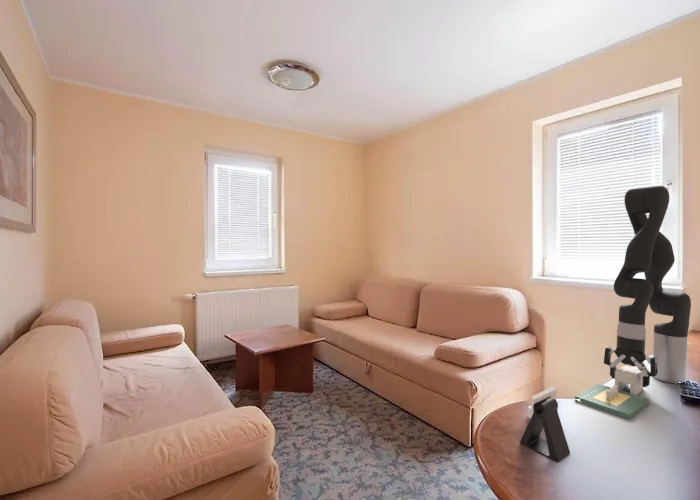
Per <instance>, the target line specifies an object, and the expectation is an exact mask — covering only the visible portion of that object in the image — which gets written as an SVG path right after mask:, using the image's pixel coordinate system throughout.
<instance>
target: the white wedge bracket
mask: <svg viewBox="0 0 700 500" xmlns="http://www.w3.org/2000/svg"><path fill="white" fill-rule="evenodd" d="M547 397H550V398H549V399H547V401H549V400H551V399H553V398H554V399H555V400H556V401H557V388H555V387H554V386H551V387H549V388H546V389H544V390H542V391H541V392H540V391H539V392H538V393H536V394H534V395H532V396H531V399H530V405H528V406H527V418H528V419H529V418H530V419H531V417H532V415H533V405H534V404H535V403H536V402H538V401H540V400H542V399H544V398H547ZM530 419H529V420H530Z"/></svg>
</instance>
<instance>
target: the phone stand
mask: <svg viewBox="0 0 700 500" xmlns="http://www.w3.org/2000/svg"><path fill="white" fill-rule="evenodd" d="M549 398H550V397H547V398H544V399H542V400H540V401H538V402H536V403H535V404H534V405H533V415H532V417H531V419H529V422H528V423H527V426H526V427H525V428H526V429H525V430H524V432H523V434H522V436H521V439H520V441H519V444H520V445H523V446H525V447H526V448H528V449H530V450H532V451H534V452H536V453H538V454H540V455H542V456H544V457H546V458H548V459H550V460H551V461H554V462H555V463H558V462H560V461H561V460H563V459H564V458H566V457H567V456H568V455H570V454H571V451H570V447H569V445H568V441H567V438H566V434H565V432H564V429H563V425H562V422H561V419H560V415H559V412H558V408H559V404H558V403H559V402H558V401H557V399H556V400H555V399H554V398H553V399H551V400H549V401H547V399H549ZM542 430H544V431H543V432H544V436H545V439H542V438H541V435H542Z"/></svg>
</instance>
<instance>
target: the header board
mask: <svg viewBox="0 0 700 500" xmlns="http://www.w3.org/2000/svg"><path fill="white" fill-rule="evenodd" d="M595 390H596V391H595ZM593 391H594V392H593ZM591 392H592V393H591ZM588 394H589V395H588ZM586 395H587V396H586ZM584 396H585V397H584ZM582 397H583V398H582ZM580 398H581V399H580ZM575 399H580V401H581V402H583V403H585V404H584V405H586V404H587V405H586V406H589V407H592V408H594V409H596V410H597V409H598V410H600V411H603V412H606V413H609V414H612V415H614V416H617V417H620V418H623V419H625V420H627V421H628V420H629V421H630V420H631V419H632V418H633V417H635V416H636V415H637V414H638V413H639V412H641V411H642V410H643V409H644V408H645V407H647V406H648V405H649V404H650V399H649V398H647V397H645V396H640V395H639V394H637V395H634V394H631V393H630V392H627V391H624V390H618V386H616V385H615V384H614V385H613V387H611V386H607V385H603V384H601V383H596V384H594V385H592V386H591V387H589V388H587V389H585V390H583V391H581V392H579V393H578V394H576V395H574V400H575ZM583 403H582V404H583Z"/></svg>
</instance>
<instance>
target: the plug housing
mask: <svg viewBox="0 0 700 500" xmlns="http://www.w3.org/2000/svg"><path fill="white" fill-rule="evenodd" d="M643 376H644V375H643V373H642V372H641V371H640V370H639V369H638V368H637V367H634V366H631V365H626V364H624V366H622V367H620V368H618V369H617V370H616V371H615V379H614V385H616V386H618V390H621V391H623V390H624V389H625V388H626V387H629V393H631V394H634V395H639V394H640V393H641V392H642V391H643V390H644V387H643Z"/></svg>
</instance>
